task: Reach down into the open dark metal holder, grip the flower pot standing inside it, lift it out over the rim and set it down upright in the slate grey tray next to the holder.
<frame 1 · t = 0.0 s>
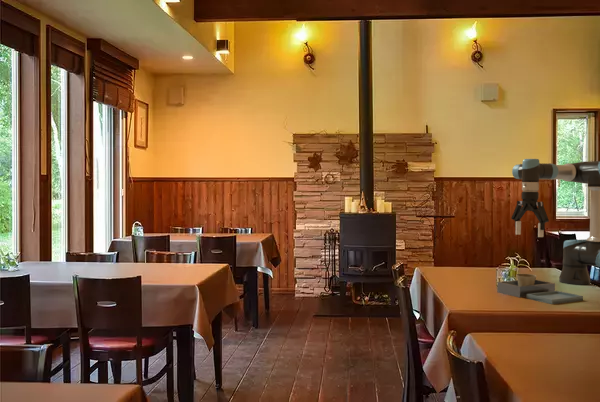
hand: (529, 235, 272), 28 cm above the table, tool pointing down, fingers open, 13 cm apart
flower pot: (525, 293, 275), resting in metal holder
metal holder: (525, 292, 275), on the table
tray: (554, 299, 261), on the table
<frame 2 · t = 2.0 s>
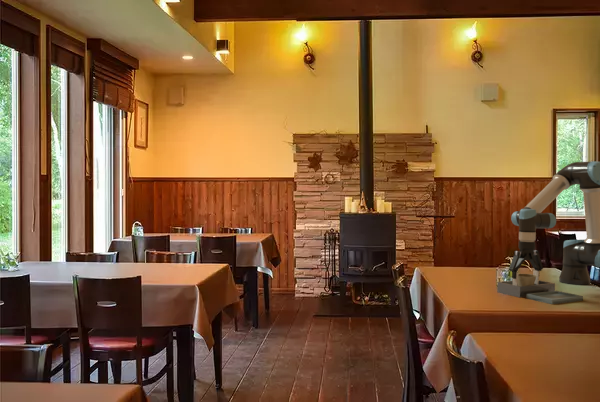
hand: (525, 284, 275), 4 cm above the table, tool pointing down, fingers open, 13 cm apart
nothing on the table moved.
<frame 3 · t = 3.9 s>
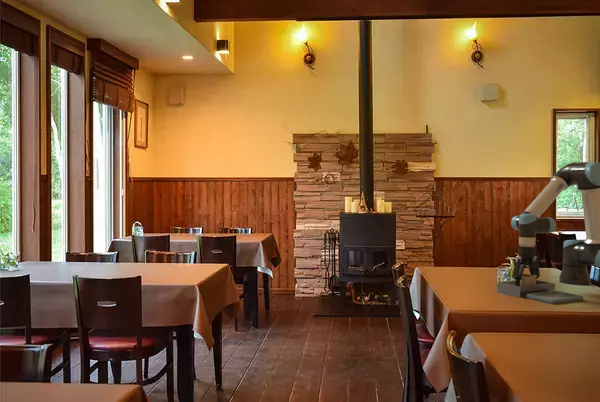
hand: (525, 292, 275), 0 cm above the table, tool pointing down, fingers closed on flower pot, 8 cm apart
flower pot: (525, 293, 275), resting in metal holder, touching gripper
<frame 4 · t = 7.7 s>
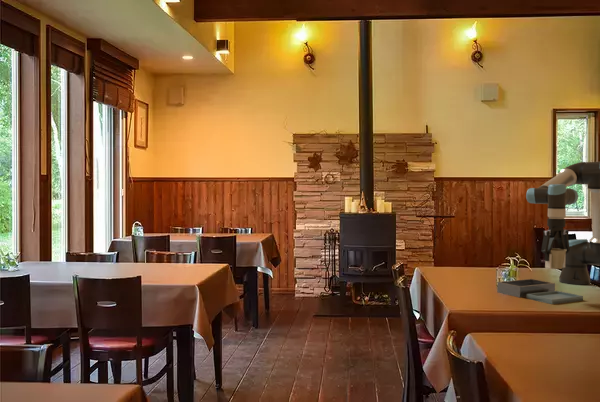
hand: (555, 267, 260), 15 cm above the table, tool pointing down, fingers closed on flower pot, 8 cm apart
flower pot: (555, 268, 260), point 14 cm above the table, touching gripper
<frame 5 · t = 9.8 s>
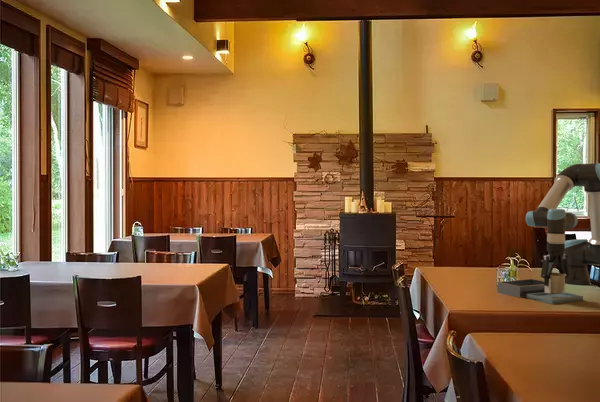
hand: (554, 292, 260), 3 cm above the table, tool pointing down, fingers closed on flower pot, 8 cm apart
flower pot: (554, 293, 260), point 3 cm above the table, touching gripper
when the fingers open (2 cm above the table, at t = 11.3 s): flower pot stays where it is, resting on tray.
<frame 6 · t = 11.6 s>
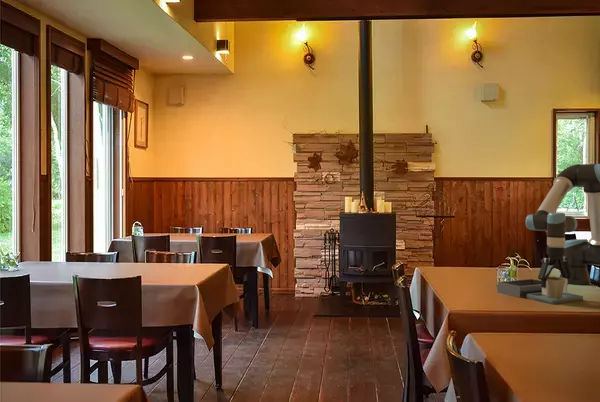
hand: (554, 293, 260), 3 cm above the table, tool pointing down, fingers open, 12 cm apart
flower pot: (554, 297, 261), point 1 cm above the table, touching tray
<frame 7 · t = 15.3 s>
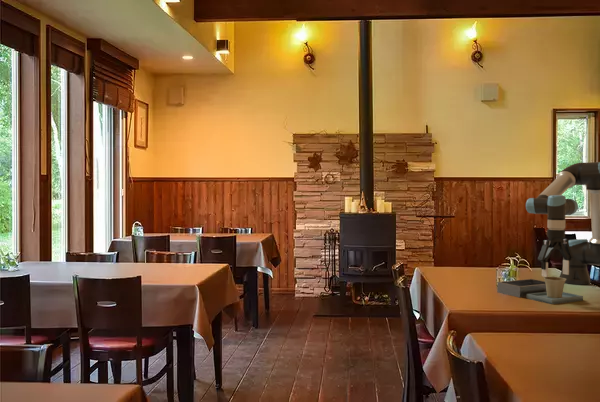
hand: (555, 275, 260), 11 cm above the table, tool pointing down, fingers open, 13 cm apart
nothing on the table moved.
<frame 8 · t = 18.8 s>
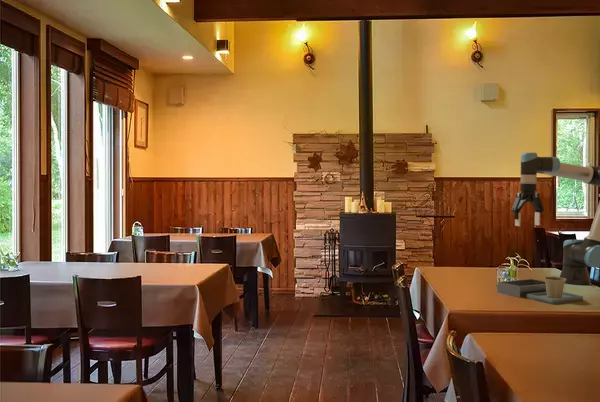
hand: (527, 225, 287), 32 cm above the table, tool pointing down, fingers open, 13 cm apart
nothing on the table moved.
at the end: flower pot inside the target area on the tray (0.0 cm from its centre), point 0.8 cm above the tray's base; flower pot tilted 0°; the gripper is holding nothing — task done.
